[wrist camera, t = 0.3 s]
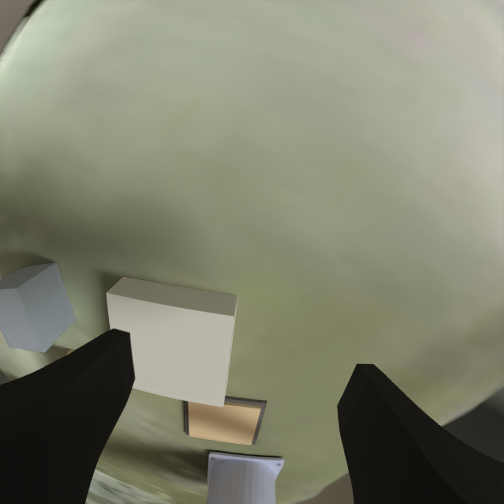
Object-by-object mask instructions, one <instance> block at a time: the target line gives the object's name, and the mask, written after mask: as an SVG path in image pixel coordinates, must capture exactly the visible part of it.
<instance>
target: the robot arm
mask: <svg viewBox="0 0 504 504" xmlns="http://www.w3.org/2000/svg"><path fill="white" fill-rule="evenodd" d="M134 381H135V372H134V364H133V356H132V348H131V338H130V332H126V331H122V330H119V329H115V328H113V329H111V330H109V331H107V332H105V333H103V334H102V335H100V336H98V337H97V338H95V339H93V340H92V341H90V342H88V343H87V344H85V345H83V346H81V347H80V348H78V349H76V350H75V351H73V352H71V353H69V354H68V355H66V356H64V357H62V358H60V359H59V360H57V361H55V362H53V363H51V364H49V365H47V366H45V367H43V368H41V369H39V370H37V371H35V372H33V373H31V374H28V375H26V376H24V377H21V378H19V379H16V380H13V381H11V382H8V383H5V384H2V385H0V504H85V502H86V498H87V494H88V490H89V487H90V483H91V480H92V477H93V474H94V471H95V468H96V465H97V462H98V459H99V457H100V455H101V452H102V450H103V448H104V446H105V444H106V442H107V440H108V438H109V437H110V435H111V433H112V431H113V429H114V427H115V425H116V423H117V421H118V419H119V417H120V415H121V413H122V411H123V409H124V407H125V405H126V403H127V401H128V398H129V395H130V393H131V390H132V387H133V384H134ZM337 409H338V421H339V430H340V435H341V440H342V444H343V448H344V453H345V457H346V461H347V465H348V470H349V474H350V479H351V483H352V489H353V496H354V504H504V463H503V462H500V461H497V460H495V459H493V458H490V457H489V456H486V455H484V454H483V453H481V452H479V451H477V450H475V449H474V448H472V447H470V446H468V445H467V444H465V443H464V442H462V441H461V440H459V439H458V438H456V437H455V436H453V435H452V434H450V433H449V432H448V431H446V430H445V429H444V428H442V427H441V426H440V425H439V424H438V423H436V422H435V421H434V420H433V419H432V418H430V417H429V416H428V415H427V414H426V413H425V412H424V411H422V410H421V409H420V408H419V407H418V406H417V405H416V404H415V403H414V402H413V401H412V400H411V399H410V398H408V397H407V396H406V395H405V394H404V393H403V392H402V391H401V390H400V389H399V388H398V387H397V386H396V385H395V384H394V383H393V382H392V381H391V380H390V379H389V378H388V377H387V376H386V375H385V374H384V373H383V372H382V371H381V370H380V369H378V368H377V367H376V366H375V365H374V364H357V365H356V367H355V369H354V371H353V374H352V376H351V378H350V380H349V382H348V384H347V387H346V389H345V391H344V393H343V395H342V397H341V399H340V401H339V403H338V405H337ZM283 464H284V459H283V458H271V457H256V456H245V455H236V454H227V453H220V452H210V453H209V460H208V478H207V484H208V485H209V489H208V495H207V502H206V504H275V480H276V478H277V476H278V474H279V472H280V470H281V468H282V466H283Z"/></svg>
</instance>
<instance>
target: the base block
mask: <svg viewBox="0 0 504 504" xmlns="http://www.w3.org/2000/svg"><path fill="white" fill-rule="evenodd" d="M106 296H107V306H108V314H109V322H110V330H111V329H113V328H115V329H119V330H122V331H126V332H130V338H131V348H132V356H133V364H134V372H135V381H134V384H133V387H132V388H134V389H138V390H142V391H146V392H149V393H153V394H157V395H162V396H166V397H170V398H175V399H180V400H184V401H190V402H195V403H200V404H206V405H212V406H218V407H223V406H224V400H225V393H226V387H227V380H228V372H229V364H230V356H231V348H232V340H233V332H234V324H235V316H236V308H237V301H238V296H237V295H230V294H223V293H217V292H210V291H203V290H197V289H191V288H185V287H178V286H172V285H167V284H161V283H155V282H149V281H144V280H138V279H133V278H128V277H123V278H121V279H120V280H119V281H118V282H117V283H116V284H115V285H114V286H113V287H112V288H111V289H110V290H109V291H108V292H107V293H106Z"/></svg>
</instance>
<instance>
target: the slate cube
mask: <svg viewBox="0 0 504 504" xmlns="http://www.w3.org/2000/svg"><path fill="white" fill-rule="evenodd" d="M75 320H76V317H75V314H74V311H73V309H72V306H71V304H70V301H69V298H68V295H67V292H66V290H65V287H64V284H63V281H62V278H61V275H60V271H59V268H58V265H57V262H55V263H48V264H41V265H34V266H27V267H21V268H19V269H18V270H16V271H14V272H13V273H11V274H10V275H8V276H6V277H5V278H3V279H2V280H0V329H1V331H2V333H3V335H4V338H5V340H6V342H7V344H8V346H9V347H13V348H18V349H24V350H30V351H37V352H43V353H45V352H46V351H47V350H48V349H49V348H50V347H51V345H52V344H53V343H54V342H55V341H56V340H57V339H58V338H59V337H60V336H61V335H62V334H63V333H64V332H65V331H66V330H67V329H68V328H69V326H70V325H71V324H72V323H73V322H74V321H75Z"/></svg>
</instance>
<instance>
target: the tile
mask: <svg viewBox="0 0 504 504" xmlns="http://www.w3.org/2000/svg"><path fill="white" fill-rule="evenodd" d="M266 404H267V401H263V400H254V399H245V398H237V397H229V396H225V400H224V406H223V407H218V406H212V405H206V404H200V403H195V402H190V401H185V427H186V435H189V436H192V437H197V438H203V439H209V440H215V441H222V442H230V443H238V444H247V445H251V444H255V443H256V439H257V436H258V432H259V429H260V425H261V422H262V418H263V414H264V411H265V407H266Z"/></svg>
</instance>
